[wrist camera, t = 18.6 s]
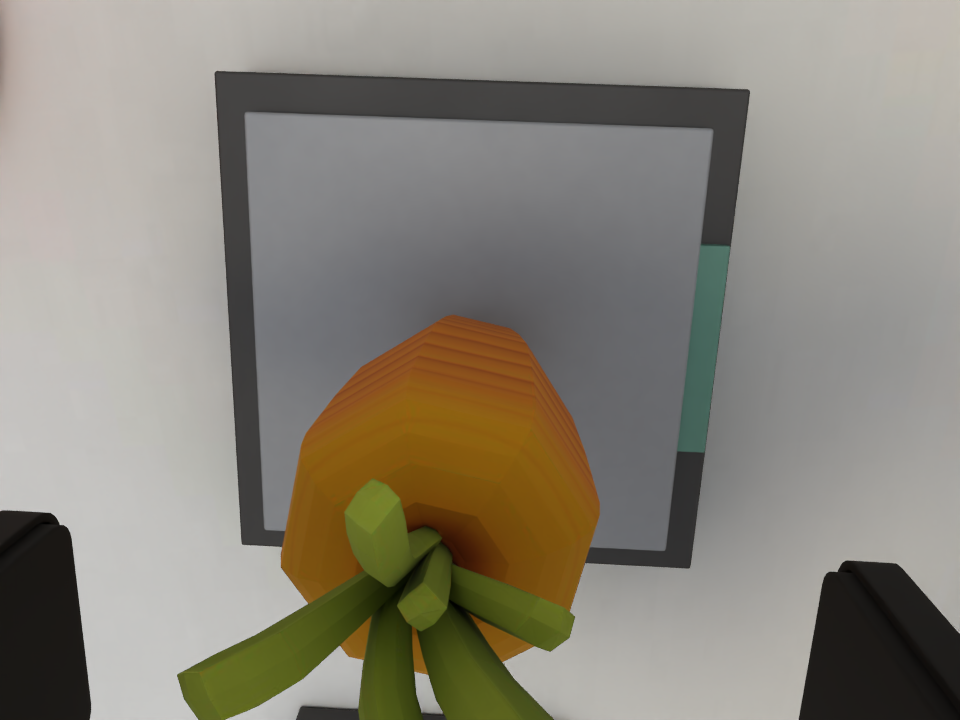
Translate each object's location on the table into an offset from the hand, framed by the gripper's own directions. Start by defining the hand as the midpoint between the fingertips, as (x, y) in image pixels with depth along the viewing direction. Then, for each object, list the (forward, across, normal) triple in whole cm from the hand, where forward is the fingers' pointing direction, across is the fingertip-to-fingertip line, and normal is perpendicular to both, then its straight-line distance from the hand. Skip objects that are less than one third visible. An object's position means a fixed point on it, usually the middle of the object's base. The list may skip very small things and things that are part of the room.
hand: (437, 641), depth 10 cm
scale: (+16, 0, 0) cm, 16 cm away
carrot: (+13, 0, 0) cm, 13 cm away
